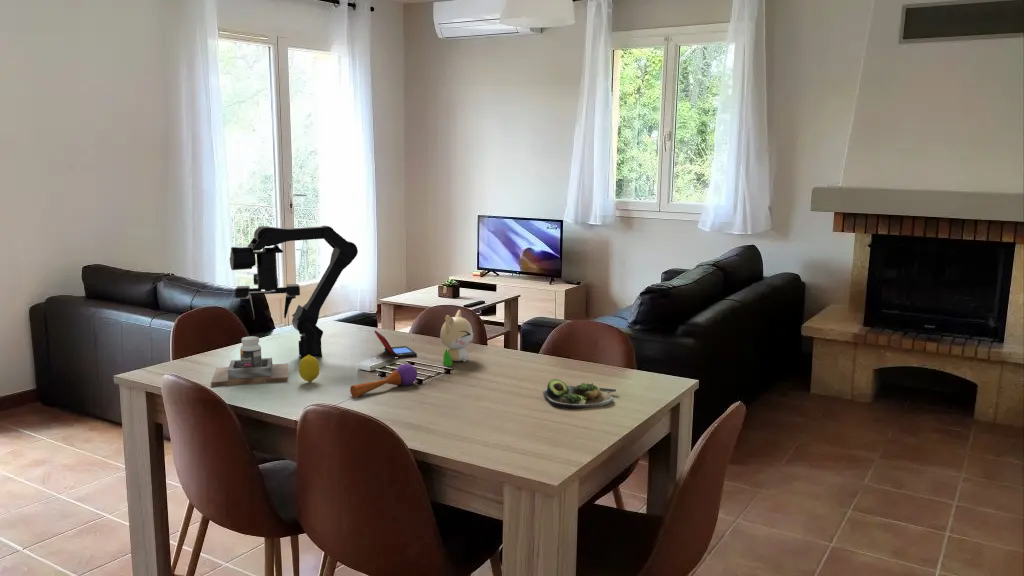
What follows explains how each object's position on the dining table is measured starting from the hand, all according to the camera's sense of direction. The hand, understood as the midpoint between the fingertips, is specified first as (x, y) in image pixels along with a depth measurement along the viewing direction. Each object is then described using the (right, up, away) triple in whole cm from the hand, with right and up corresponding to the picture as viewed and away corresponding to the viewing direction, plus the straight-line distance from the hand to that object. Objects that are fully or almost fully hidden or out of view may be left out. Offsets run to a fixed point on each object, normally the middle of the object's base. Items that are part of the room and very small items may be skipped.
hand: (269, 318), depth 246 cm
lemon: (+18, -17, -23) cm, 34 cm away
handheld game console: (+37, -12, +10) cm, 40 cm away
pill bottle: (0, -15, -16) cm, 22 cm away
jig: (0, -16, -16) cm, 23 cm away
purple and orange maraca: (+40, -18, -29) cm, 53 cm away
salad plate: (+90, -20, -37) cm, 100 cm away
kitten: (+57, -13, +2) cm, 59 cm away
